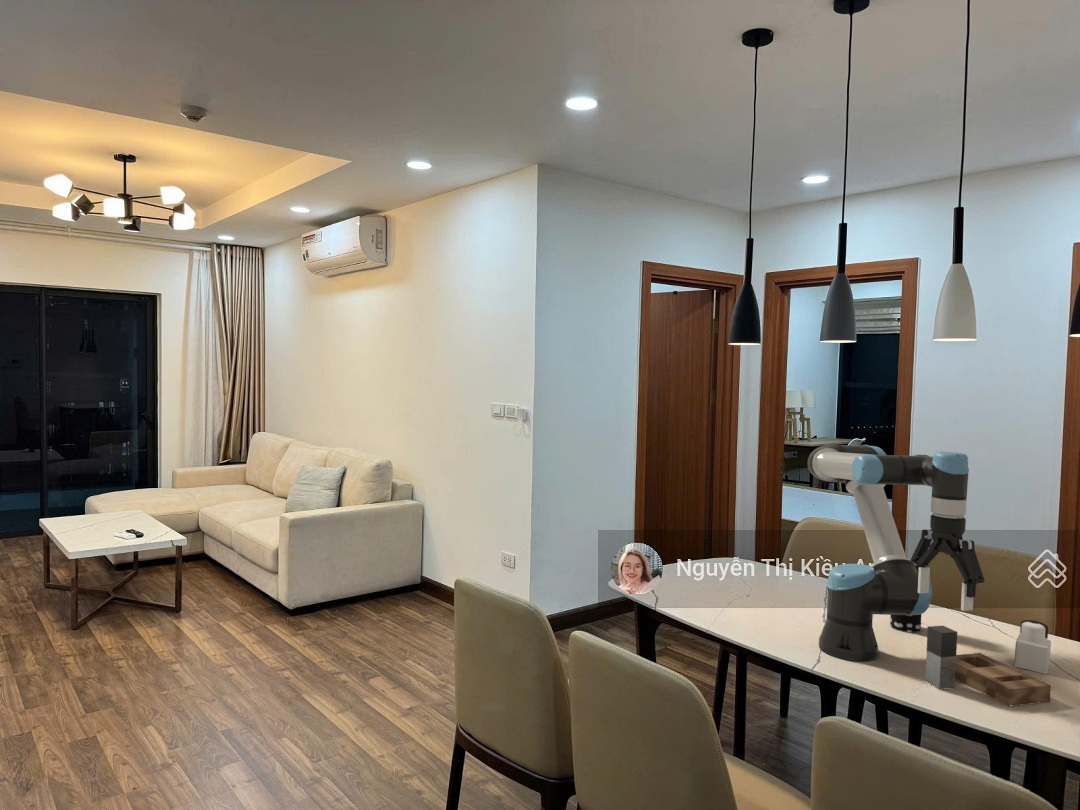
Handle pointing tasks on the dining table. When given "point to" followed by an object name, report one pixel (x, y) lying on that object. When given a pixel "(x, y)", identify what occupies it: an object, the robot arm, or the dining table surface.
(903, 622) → the spotted tube
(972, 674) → the wooden compartment tray
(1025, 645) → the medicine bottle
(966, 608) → the robot arm
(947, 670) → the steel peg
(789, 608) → the dining table surface
